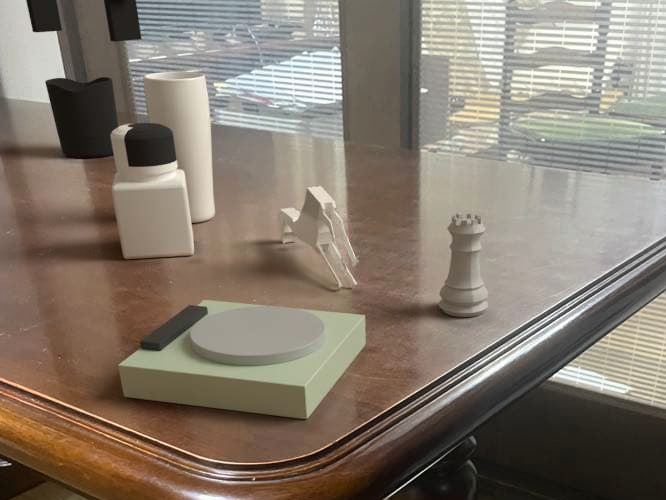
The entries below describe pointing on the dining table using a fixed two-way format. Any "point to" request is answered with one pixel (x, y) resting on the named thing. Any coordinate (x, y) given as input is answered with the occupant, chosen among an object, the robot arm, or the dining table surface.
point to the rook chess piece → (464, 269)
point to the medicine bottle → (150, 193)
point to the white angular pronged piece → (317, 228)
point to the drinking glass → (186, 132)
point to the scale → (245, 358)
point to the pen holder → (83, 116)
